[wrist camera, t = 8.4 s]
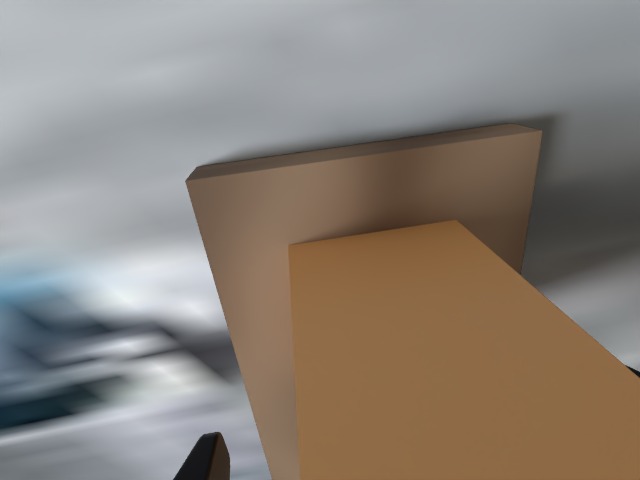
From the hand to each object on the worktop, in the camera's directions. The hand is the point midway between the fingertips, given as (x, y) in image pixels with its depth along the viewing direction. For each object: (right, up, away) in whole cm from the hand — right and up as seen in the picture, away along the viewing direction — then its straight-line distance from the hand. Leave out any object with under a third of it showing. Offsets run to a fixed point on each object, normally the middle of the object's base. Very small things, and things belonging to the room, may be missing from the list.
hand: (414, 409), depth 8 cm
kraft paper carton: (0, +2, +4) cm, 4 cm away
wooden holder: (0, +1, +6) cm, 6 cm away
